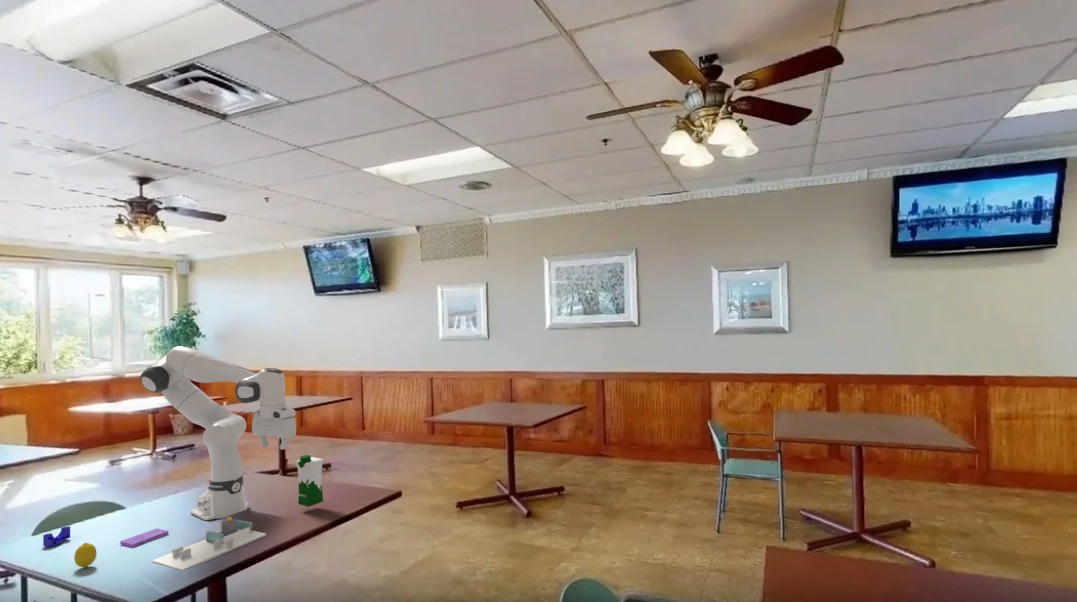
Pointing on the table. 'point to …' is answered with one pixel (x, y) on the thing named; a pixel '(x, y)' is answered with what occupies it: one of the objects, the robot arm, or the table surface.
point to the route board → (203, 551)
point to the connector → (229, 526)
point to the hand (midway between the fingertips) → (273, 448)
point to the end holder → (242, 530)
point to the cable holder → (52, 541)
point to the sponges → (144, 537)
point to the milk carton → (310, 480)
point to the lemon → (85, 555)
